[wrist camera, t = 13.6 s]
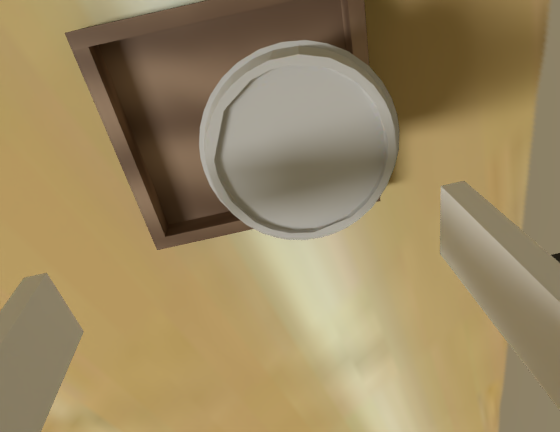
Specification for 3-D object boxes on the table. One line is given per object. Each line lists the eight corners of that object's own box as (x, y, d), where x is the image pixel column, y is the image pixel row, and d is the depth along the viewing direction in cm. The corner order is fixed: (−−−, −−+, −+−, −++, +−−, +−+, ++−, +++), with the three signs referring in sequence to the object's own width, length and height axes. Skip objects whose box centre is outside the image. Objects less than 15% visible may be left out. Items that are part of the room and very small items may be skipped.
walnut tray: (78, 29, 26) (64, 32, 24) (350, -33, 26) (361, -35, 24) (162, 233, 34) (157, 250, 32) (370, 187, 34) (380, 200, 32)
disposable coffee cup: (290, 1, 26) (302, -16, 15) (384, 106, 29) (450, 154, 18) (197, 109, 29) (150, 158, 18) (290, 194, 32) (299, 281, 21)
